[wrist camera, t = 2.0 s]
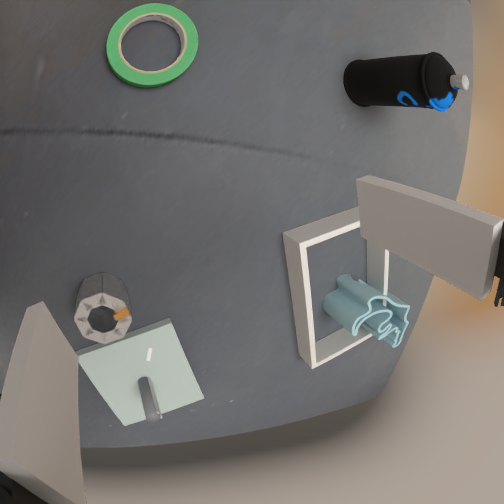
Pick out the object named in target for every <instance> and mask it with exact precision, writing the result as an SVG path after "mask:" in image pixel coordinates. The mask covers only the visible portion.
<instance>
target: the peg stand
mask: <svg viewBox="0 0 504 504" xmlns="http://www.w3.org/2000/svg"><path fill="white" fill-rule="evenodd" d="M76 354H77V356H78V357H79V361H78V362H79V363H80V365H81V366H82V368H83V369H84V371H85V373H86V374H87V375H88V377H89V378H90V380H91V381H92V383H93V384H94V386H95V387H96V389H97V390H98V391H99V393H100V394H101V396H102V397H103V398H104V400H105V401H106V402H107V404H108V405H109V406H110V408H111V409H112V410H113V412H114V413H115V414H116V416H117V417H118V418H119V419H120V421H121V422H122V423H123V424H124V426H126V425H129V424H132V423H136V422H139V421H142V420H145V419H146V420H147V421H149V422H156V421H158V420H160V418H162V415H161V414H163V413H165V412H168V411H171V410H174V409H177V408H179V407H182V406H185V405H188V404H190V403H193V402H196V401H198V400H201V399H203V398H204V396H203V394H202V391H201V389H200V387H199V385H198V383H197V381H196V378H195V376H194V374H193V372H192V369H191V367H190V365H189V363H188V360H187V358H186V356H185V353H184V351H183V349H182V346H181V344H180V342H179V339H178V337H177V334H176V332H175V329H174V327H173V324H172V322H171V319H170V318H167V319H164V320H161V321H159V322H156V323H153V324H151V325H148V326H145V327H142V328H139V329H137V330H134V331H131V332H128V333H126V334H125V336H124V337H123V338H121V339H118V340H115V341H112V342H109V343H107V344H102V343H97V344H94V345H91V346H88V347H86V348H83V349H80V350H77V351H76Z"/></svg>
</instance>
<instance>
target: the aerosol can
mask: <svg viewBox="0 0 504 504" xmlns="http://www.w3.org/2000/svg"><path fill="white" fill-rule="evenodd" d="M344 85H345V89H346V92H347V94H348V96H349V97H350V99H351V100H352V101H353V102H354V103H356V104H357V105H360V106H363V107H367V106H371V105H378V106H403V107H419V108H431V109H436V110H438V111H445V110H447V109H448V108H449V107H450V106H451V104H452V103H453V102H454V100H455V98H456V96H457V92H458V89H462V90H468V88H469V81H468V78H467V77H466V76H465V75H456V74H455V71H454V69H453V67H452V66H451V65H450V64H449V62H448V61H447V60H446V59H445V58H444V57H443V56H442V55H441V54H439V53H436V52H431V53H428V54H423V55H409V56H397V57H387V58H379V59H371V60H355V61H353V62H351V63H350V64H349V65H348V66H347V68H346V70H345V73H344Z"/></svg>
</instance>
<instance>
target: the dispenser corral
mask: <svg viewBox="0 0 504 504" xmlns="http://www.w3.org/2000/svg"><path fill="white" fill-rule="evenodd" d="M358 227H360V217H359V206H357V207H354V208H351V209H348V210H345V211H342V212H340V213H337V214H334V215H331V216H328V217H325V218H322V219H319V220H317V221H314V222H311V223H308V224H305V225H302V226H299V227H297V228H294V229H291V230H288V231H285V232H282V235H283V242H284V248H285V255H286V262H287V269H288V276H289V283H290V291H291V298H292V306H293V313H294V321H295V329H296V336H297V344H298V353H299V355H300V356H301V357H302V358H303V359H304V361H305V362H306V363H307V364H308V365H309V366H310V367H311V369H313V368H315V367H317V366H319V365H321V364H323V363H325V362H327V361H329V360H330V359H332V358H334V357H336V356H338V355H340V354H341V353H343V352H345V351H347V350H348V349H350V348H352V347H354V346H356V345H357V344H359V343H361V342H362V341H364V340H366V339H368V338H369V337H371V336H373V335H372V334H371V333H370V332H369V331H367V330H366V329H365V328H364V327H362V326H361V325H360V327H359V329H358V333H357V335H356V336H353V335H352V334H351V333H350V332H348V331H347V330H346V329H345V328H342V329H340V330H338V331H336V332H334V333H332V334H330V335H328V336H326V337H324V338H322V339H320V340H318V341H316V342H315V337H314V325H313V313H312V302H311V291H310V281H309V271H308V262H307V252H306V247H309V246H311V245H314V244H316V243H319V242H322V241H324V240H327V239H329V238H332V237H334V236H337V235H340V234H342V233H345V232H347V231H350V230H352V229H355V228H358ZM388 265H389V251H388V250H386V249H384V248H382V247H380V246H378V245H376V244H374V243H372V242H370V241H368V240H367V284H369V285H370V286H372V287H373V288H375V289H376V290H378V291H379V292H381V293H382V294H384V295H387V286H388ZM375 300H377V301H378V302H379V303H381V304H382V305H384V306H385V307H386V302H387V301H386V300H385V299H379V298H378V299H375Z"/></svg>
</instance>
